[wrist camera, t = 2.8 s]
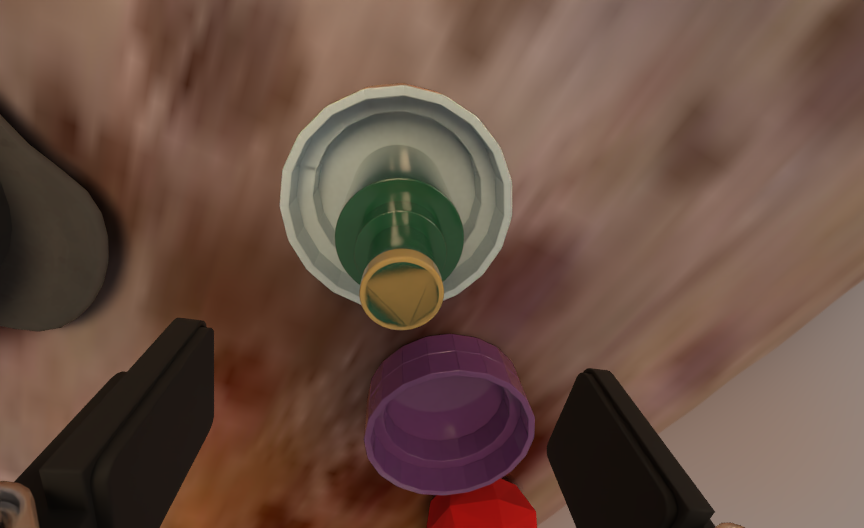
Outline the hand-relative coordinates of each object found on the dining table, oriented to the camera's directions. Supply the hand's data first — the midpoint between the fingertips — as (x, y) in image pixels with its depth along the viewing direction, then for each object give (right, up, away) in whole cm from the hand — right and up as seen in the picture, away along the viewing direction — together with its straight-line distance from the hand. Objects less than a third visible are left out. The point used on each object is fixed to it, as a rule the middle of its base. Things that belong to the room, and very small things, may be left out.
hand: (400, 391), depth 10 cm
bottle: (-1, +8, +17) cm, 19 cm away
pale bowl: (-1, +8, +17) cm, 19 cm away
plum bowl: (+2, -8, +25) cm, 26 cm away
